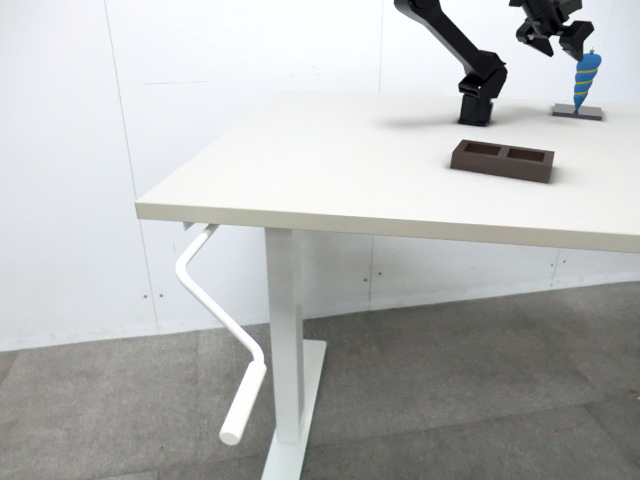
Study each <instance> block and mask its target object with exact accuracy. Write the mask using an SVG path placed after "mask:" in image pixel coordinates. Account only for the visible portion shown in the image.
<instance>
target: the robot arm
mask: <svg viewBox="0 0 640 480" xmlns="http://www.w3.org/2000/svg"><path fill="white" fill-rule="evenodd" d="M393 6H394V8H395V9H396V10H397V11H398V12H399V13H401V14H402V15H403V16H405V17H407V18H409V19H410V20H412V21H415V22H417V23H418V24H420V25H422V26H424V28H426V30H427V31H429V32H430V33H431V35H432V36H433V37H434V38H435V39H436V40H438V42H440V44H442V46H444V48H446V49H447V50H448V52H449V53H450V54H451V55H452V56H453V57H454V58H455V59H456V60H457V61H458V62H459V63H460V64H461V65H462V66H463V70H464V74H465V76H464V77H463V78H462V79H461V80H460V81H459V82H458V83H457V88H458V92H459V93H460V94H462V97H461V105H460V110H459V111H460V112H459V118H458V119H457V122H456V123H458V124H462V125H463V124H465V125H473V126H481V127H486V126H487V125H488V124H489V123H490V122H491V120H492V116H493V112H494V111H493V110H494V105H495V103H494V102H493V100H494V99H495V100H496V99H498V98H499V96H500V93H501V91H502V89H503V88H504V85H505V83H506V81H507V78H508V74H509V71H508V68H507V67H506V65H507V62H505V61H503V60H502V59H501V57H500V56H499V55H498V53H497V52H495V51H490V50H484V49H479V48H478V47H477V46H476V45H475V44H474V43H473V42H472V41H471V39H470V38H469V37H467V36H466V33H465V34H464V32H463V31H462V30H461V29H460V27H458V26H457V25H456V23H454V21H452V20H451V18H450V17H449V16H448V15H447V14H446V13H445V12H444V11H443V9H442V5H441V1H440V0H393ZM508 7H510V8H521V9H522V11H523V12H524V14H525V16H526V18H524V22H523V23H522V24H520V26H519V27H518V28H517V29H516V30H515V37H516V40H517V42H518V43H522V44H523V45H525V46H528V47H530V48H532V49H534V50H536V51H537V52H539V53H541V54H542V55H545V56H546V57H548V58H552V57H553V56H554V55H555V51H554V49H553V46H552V44H551V41H550V38H551V37H552V36H555V37H559V38H558V44H559V46H560V47H561V50H562V51H563V52H564V53H565V54H566V55H568V56H569V57H571V58H572V59H573V60H574V61H576V62H577V63H578V62H581V61H582V60H583V54H584V43H585V41H586V40H587V39H588V38H589V37H590V36H591V35H592V33H593V32H594V31H595V26H594V24H593V22H592V21H591V20H581V19H578V20H577V19H574V20H573V21H572V22H571V24H570V25H568V24H567V25H565V24H564V23H568V21H569V20H570V19H571V17H570V15H572V14H573V13H575V12H577V11H581V10H582V9H583V0H509V2H508Z"/></svg>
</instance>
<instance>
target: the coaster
mask: <svg viewBox="0 0 640 480" xmlns="http://www.w3.org/2000/svg"><path fill="white" fill-rule="evenodd" d="M552 116H555V117H562V118H573V119H582V120H589V121H590V120H591V121H600V122H601V121H602V119H603V112H602V107H599V106H589V105H581V106H580V108H579V109H575V104H567V103H559V102H555V103H554V107H553V109H552Z"/></svg>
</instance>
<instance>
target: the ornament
mask: <svg viewBox="0 0 640 480" xmlns="http://www.w3.org/2000/svg"><path fill="white" fill-rule="evenodd" d="M602 61H603V59H602V56H601V55H600V54H597V53H595V49H594V46H592V48H591V49H590V50H589V52H588V53H587V52H586V53H583V60H582V61H581V62H578V61H577V63H576V66H575V70H576V73H575V74H574V82H575V84H574V86H573V97H572V98H573V105H575V109H579V108H580V106H582V104H583V103H584V101H585V100H586V98H587V97H588V95H589V90H590V88H592V85H593V84H594V83H593V82H594V79H595V77H596V76H597V74H598V70H599V67H600V66H601V64H602Z"/></svg>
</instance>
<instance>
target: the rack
mask: <svg viewBox="0 0 640 480" xmlns="http://www.w3.org/2000/svg"><path fill="white" fill-rule="evenodd" d="M555 152H556V151H554V150H548V149H547V150H546V149H540V148H532V147H523V146H516V145H508V144H502V143H495V142H487V141H479V140H472V139H471V140H470V139H465V138H464V139H463V138H462V139H461V140H460V142H459V143H458V144H457V146H455V148H454V149H453V151H451V159H450V166H449V168H450V169H454V170H460V171H467V172H474V173H480V174H486V175H491V176H492V175H493V176H498V177H505V178H510V179H519V180H524V181H531V182H537V183H544V184H548V183H549V182H550V177H551V174H552V173H551V172H552V169H553V164H554V159H555Z"/></svg>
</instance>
